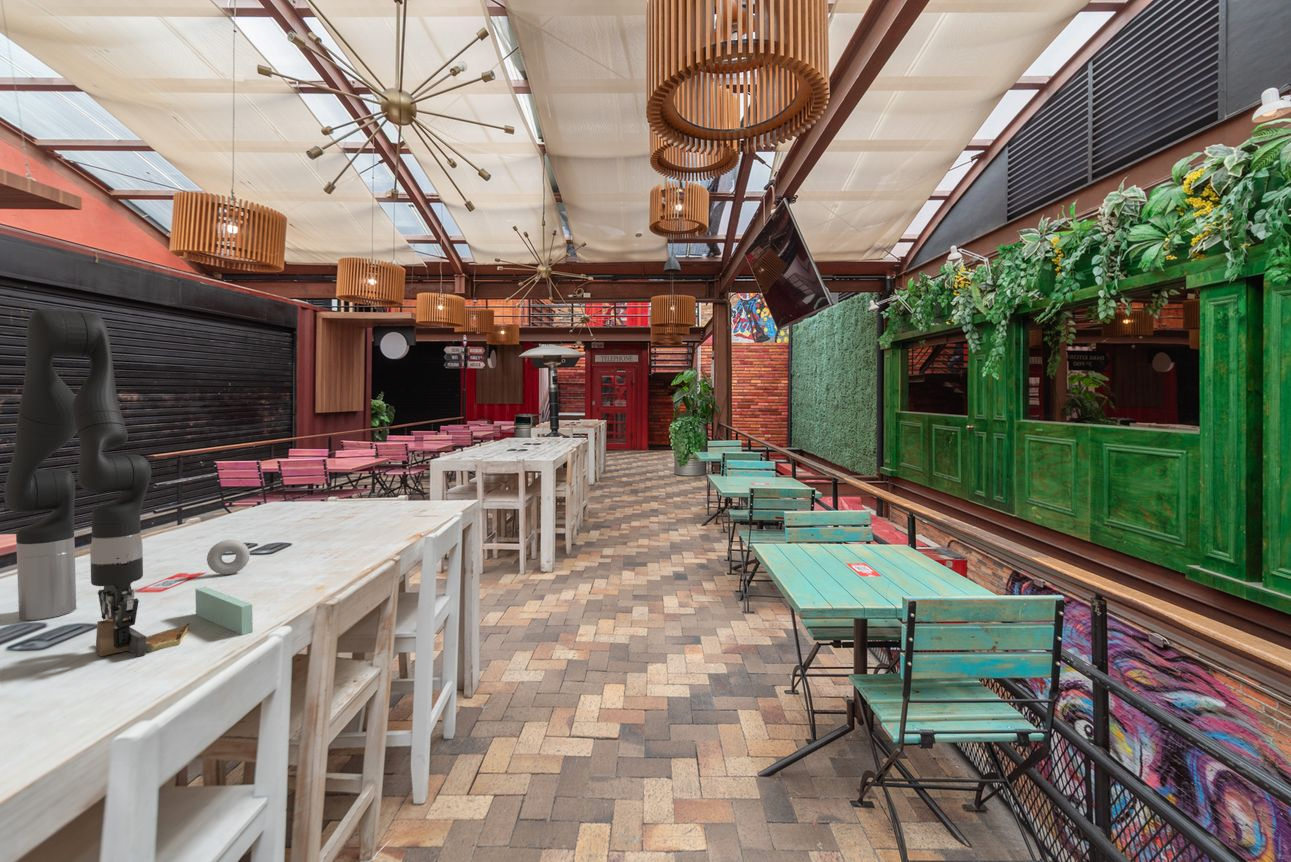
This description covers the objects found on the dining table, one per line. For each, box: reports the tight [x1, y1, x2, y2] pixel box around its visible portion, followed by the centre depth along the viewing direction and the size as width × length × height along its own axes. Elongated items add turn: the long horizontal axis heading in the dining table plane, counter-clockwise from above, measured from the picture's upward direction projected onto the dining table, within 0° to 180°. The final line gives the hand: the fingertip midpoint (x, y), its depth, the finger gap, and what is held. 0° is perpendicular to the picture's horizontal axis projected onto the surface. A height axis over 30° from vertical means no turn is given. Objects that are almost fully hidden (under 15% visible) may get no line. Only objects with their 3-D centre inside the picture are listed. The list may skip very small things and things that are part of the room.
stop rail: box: [195, 586, 254, 636], centre depth 128 cm, size 22×2×6 cm, turn 59°
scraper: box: [95, 618, 147, 657], centre depth 113 cm, size 13×5×6 cm, turn 58°
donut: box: [206, 539, 251, 575], centre depth 165 cm, size 10×4×10 cm, turn 125°
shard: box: [146, 622, 190, 653], centre depth 119 cm, size 11×8×2 cm
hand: (118, 643), depth 113 cm, fingers closed on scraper, 3 cm apart
